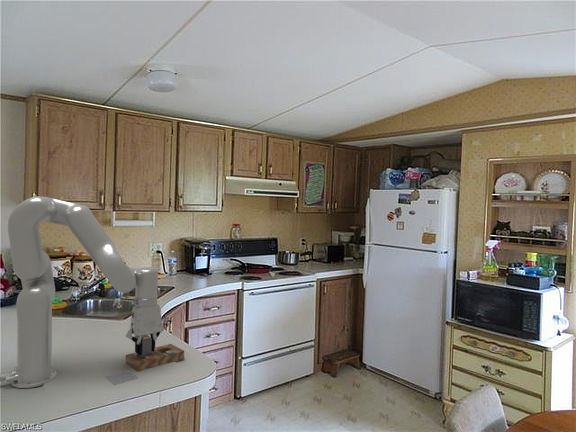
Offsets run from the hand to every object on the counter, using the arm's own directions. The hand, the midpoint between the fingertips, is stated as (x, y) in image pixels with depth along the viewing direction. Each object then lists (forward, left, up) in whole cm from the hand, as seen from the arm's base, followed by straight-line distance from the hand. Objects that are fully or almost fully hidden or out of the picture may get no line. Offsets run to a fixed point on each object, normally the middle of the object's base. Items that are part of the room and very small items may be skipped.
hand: (145, 351), depth 145 cm
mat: (-11, -6, -5) cm, 13 cm away
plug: (0, 0, -5) cm, 5 cm away
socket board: (+4, 0, -5) cm, 6 cm away
